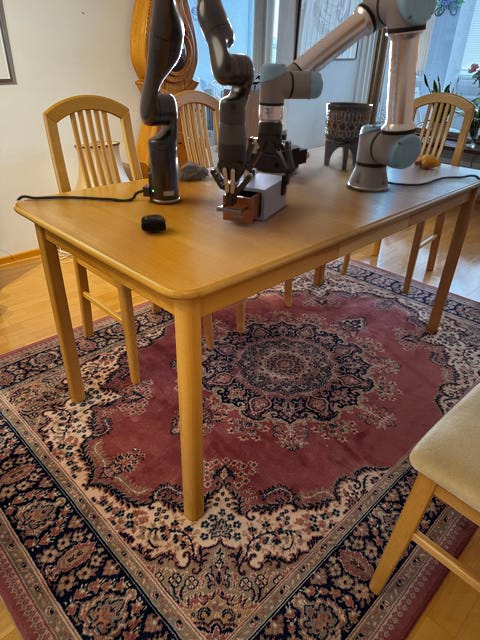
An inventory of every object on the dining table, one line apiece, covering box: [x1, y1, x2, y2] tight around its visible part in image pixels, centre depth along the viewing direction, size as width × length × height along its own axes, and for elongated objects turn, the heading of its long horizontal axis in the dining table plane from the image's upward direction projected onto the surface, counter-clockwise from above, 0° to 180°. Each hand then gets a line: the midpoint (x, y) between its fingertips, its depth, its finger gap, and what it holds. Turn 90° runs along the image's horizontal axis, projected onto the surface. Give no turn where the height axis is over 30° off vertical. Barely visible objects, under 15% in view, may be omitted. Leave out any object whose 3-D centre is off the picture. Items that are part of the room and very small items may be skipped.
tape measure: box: [140, 213, 167, 233], centre depth 128 cm, size 7×7×4 cm
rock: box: [178, 160, 210, 182], centre depth 182 cm, size 13×9×6 cm, turn 131°
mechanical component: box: [248, 127, 311, 176], centre depth 191 cm, size 22×21×30 cm
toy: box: [413, 154, 442, 170], centre depth 212 cm, size 11×6×15 cm
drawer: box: [216, 190, 262, 225], centre depth 138 cm, size 24×9×8 cm, turn 154°
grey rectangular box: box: [238, 173, 288, 222], centre depth 146 cm, size 20×11×10 cm, turn 154°
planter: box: [323, 101, 374, 172], centre depth 204 cm, size 20×20×26 cm
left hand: (231, 205), depth 129 cm, fingers closed
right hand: (267, 192), depth 151 cm, fingers closed on grey rectangular box, 11 cm apart
